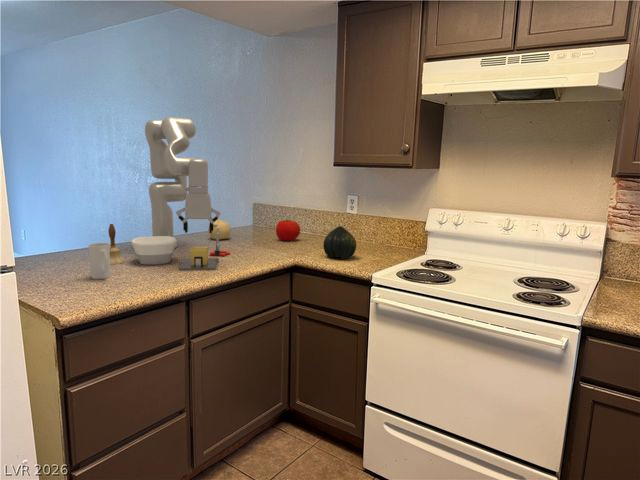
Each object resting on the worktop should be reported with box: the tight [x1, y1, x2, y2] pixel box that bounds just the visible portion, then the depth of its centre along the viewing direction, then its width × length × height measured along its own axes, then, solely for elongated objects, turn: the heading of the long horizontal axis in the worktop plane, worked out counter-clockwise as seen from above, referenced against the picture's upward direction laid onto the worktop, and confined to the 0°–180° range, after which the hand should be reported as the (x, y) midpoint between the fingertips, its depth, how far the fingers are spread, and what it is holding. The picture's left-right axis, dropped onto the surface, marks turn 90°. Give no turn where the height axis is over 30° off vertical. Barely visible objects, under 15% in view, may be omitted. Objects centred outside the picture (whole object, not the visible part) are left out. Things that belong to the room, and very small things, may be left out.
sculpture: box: [207, 219, 232, 241], centre depth 244 cm, size 12×12×11 cm
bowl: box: [131, 235, 178, 266], centre depth 188 cm, size 18×18×9 cm
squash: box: [322, 225, 357, 260], centre depth 206 cm, size 14×15×15 cm
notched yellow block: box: [190, 246, 209, 265], centre depth 184 cm, size 6×8×6 cm
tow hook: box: [209, 228, 231, 257], centre depth 205 cm, size 8×13×9 cm
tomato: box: [275, 219, 301, 242], centre depth 246 cm, size 12×13×12 cm
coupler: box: [178, 257, 220, 271], centre depth 184 cm, size 14×18×5 cm
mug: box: [88, 242, 111, 280], centre depth 160 cm, size 10×7×12 cm, turn 45°
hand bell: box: [108, 223, 126, 265], centre depth 184 cm, size 8×8×16 cm
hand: (198, 232), depth 183 cm, fingers open, 9 cm apart
